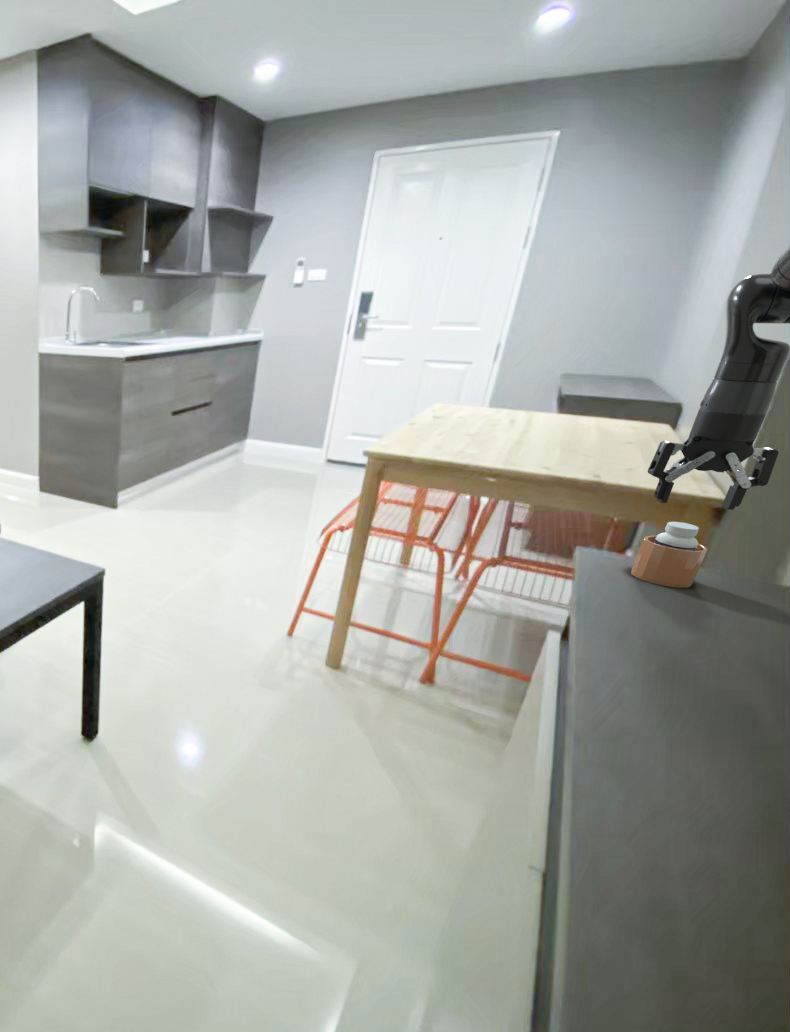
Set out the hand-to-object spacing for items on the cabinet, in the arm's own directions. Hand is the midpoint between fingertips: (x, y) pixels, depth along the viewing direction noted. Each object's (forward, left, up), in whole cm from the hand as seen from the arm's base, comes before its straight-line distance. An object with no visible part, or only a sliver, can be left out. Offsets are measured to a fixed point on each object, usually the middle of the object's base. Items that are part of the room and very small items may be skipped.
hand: (693, 505), depth 104 cm
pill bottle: (0, 0, -14) cm, 14 cm away
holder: (0, 0, -14) cm, 14 cm away
